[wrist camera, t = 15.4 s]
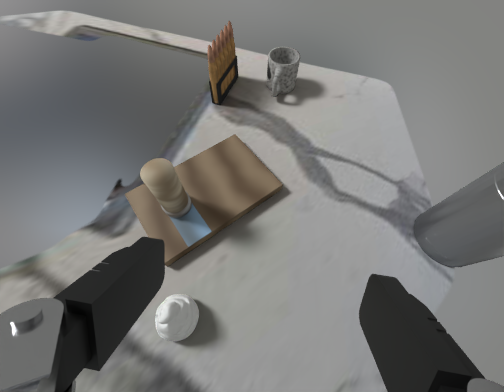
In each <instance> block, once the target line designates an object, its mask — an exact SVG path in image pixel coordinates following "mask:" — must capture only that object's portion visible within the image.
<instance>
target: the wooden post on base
mask: <svg viewBox="0 0 504 392" xmlns="http://www.w3.org/2000/svg"><path fill="white" fill-rule="evenodd" d="M140 176H141V179H142V180H143V182H144V183H145V184H146V186H147V187H148V188H149V190H150V191H151V192H152V194H153V195H154V196H155V198H156V199H157V200H158V202H159V203H160V204H161V207H162V209H163V211H164V212H165V213H166V214H167V215H168V216H169V217H172V218H180V217H183V216H185V215H186V214H187V213H188V212H189V211H190V209H191V207H192V201H191V199H190V197H189V195H188V193H187V192H186V191H185V189H184V187H183V185H182V183H181V181H180V179H179V177H178V175H177V173H176V171H175V169H174V167H173V165H172V163H171V162H170V161H168V160H166V159H162V158H158V159H153V160H151V161H149V162H147V163H146V164H145V165H144V166H143V168H142V169H141V173H140Z"/></svg>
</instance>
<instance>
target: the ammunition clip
mask: <svg viewBox="0 0 504 392" xmlns="http://www.w3.org/2000/svg"><path fill="white" fill-rule="evenodd" d="M208 62H209V75H210V81H209V84H210V91H211V97H212V103H214V104H218V105H220V104H221V103H222V101H223V100H224V98H225V97H226V95H227V94H228V92H229V90H230V89H231V87H232V86H233V84H234V83H235V81H236V80H237V78H238V66H237V56H235V43H234V37H233V29H232V25H231V22H230V21H229V22H228V27H227V26H226V25H225V27H224V33H223V31H222V30H221V32H220V37H219V35H217V37H216V42H215V41H214V40H213V42H212V48H211V46H210V45H209V46H208Z"/></svg>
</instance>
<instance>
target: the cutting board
mask: <svg viewBox="0 0 504 392" xmlns="http://www.w3.org/2000/svg"><path fill="white" fill-rule="evenodd" d="M174 169H175V171H176V173H177V175H178V177H179V179H180V181H181V183H182V185H183V187H184V189H185V191H186V192H187V193H188V195H189V197H190V199H191V201H192V207H191V209H190V211H189V212H188V213H187V214H186V215H185V216H183V217H180V218H172V217H169V216H168V215H167V214H166V213H165V212H164V211H163V209H162V207H161V204H160V203H159V202H158V200H157V199H156V198H155V196H154V195H153V194H152V192H151V191H150V190H149V188H148V187H147V186H146V184H145V183H144V184H142V185H141V186H139V187H137V188H135V189H133V190H131V191H130V192H128V193H126V194H125V196H126V197H127V199H128V201H129V203H130V204H131V206H132V208H133V210H134V212H135V213H136V215H137V217H138V219H139V221H140V222H141V224H142V226H143V228H144V230H145V231H146V233H147V235H148V237H149V238H156V239H162V240H163V241H164V244H165V265H166V266H167V267H168V266H169V265H171V264H172V263H174V262H175V261H177V260H178V259H180V258H181V257H182V256H184V255H185V254H187V253H188V252H190V251H191V250H193V249H194V248H196V247H197V246H199V245H200V244H202V243H203V242H205V241H206V240H208V239H209V238H211V237H212V236H214V235H215V234H217V233H218V232H220V231H221V230H222V229H224V228H225V227H227V226H228V225H230V224H231V223H233V222H234V221H236V220H237V219H239V218H240V217H242V216H243V215H245V214H246V213H248V212H249V211H251V210H252V209H254V208H255V207H257V206H258V205H260V204H261V203H263V202H264V201H265V200H267V199H268V198H270V197H271V196H273V195H274V194H276V193H277V192H279V191H280V190H281V189H282V185H283V184H282V183H281V182H280V181H279V180H278V179H277V178H276V177H275V176H274V175H273V174H272V173H271V172H270V171H269V170H268V169H267V167H266V166H265V165H264V164H263V163H262V162H261V161H260V160H259V159H258V158H257V157H256V156H255V155H254V154H253V153H252V152H251V151H250V149H249V148H248V147H247V146H246V145H245V144H244V143H243V142H242V141H241V140H240V139H239V138H238V137H237V136H236V135H233V136H231V137H229V138H227V139H225V140H223V141H222V142H220V143H218V144H216V145H214V146H212V147H211V148H209V149H207V150H205V151H203V152H201V153H200V154H198V155H196V156H194V157H192V158H190V159H188V160H187V161H185V162H183V163H181V164H179V165H177V166H176V167H174Z"/></svg>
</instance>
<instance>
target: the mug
mask: <svg viewBox="0 0 504 392" xmlns="http://www.w3.org/2000/svg"><path fill="white" fill-rule="evenodd" d="M299 61H300V54H299V52H298V51H296V50H295V49H292V48H290V47H277V48H274V49H272V50H271V51H270V52H269V55H268V70H267V87H268V88H269V90H271V91H272V96H273V97H276V96H277V95H278V94H284V93H289V92H291V91H292V90H293V89H294V87H295V83H296V77H297V72H298V67H299Z"/></svg>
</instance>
